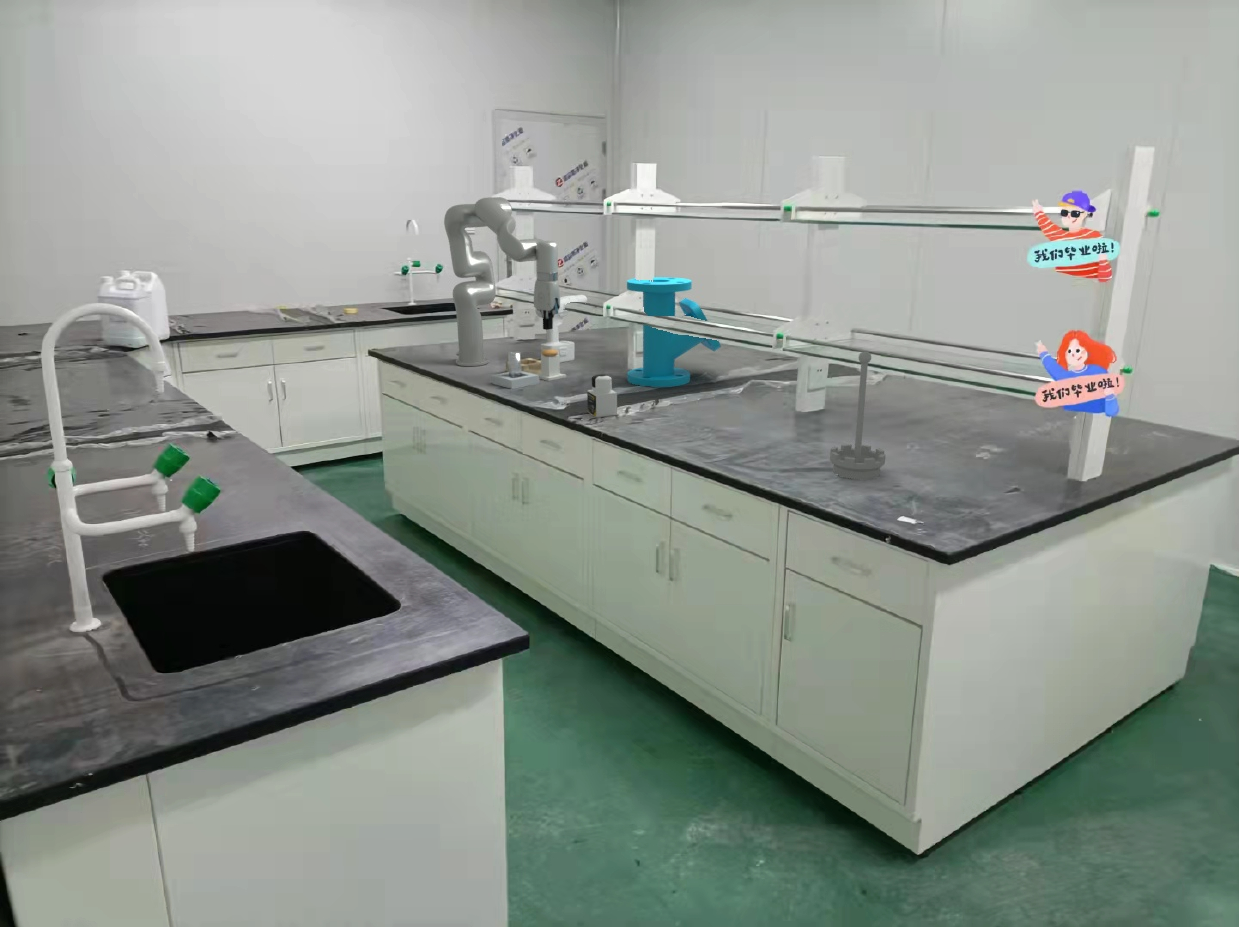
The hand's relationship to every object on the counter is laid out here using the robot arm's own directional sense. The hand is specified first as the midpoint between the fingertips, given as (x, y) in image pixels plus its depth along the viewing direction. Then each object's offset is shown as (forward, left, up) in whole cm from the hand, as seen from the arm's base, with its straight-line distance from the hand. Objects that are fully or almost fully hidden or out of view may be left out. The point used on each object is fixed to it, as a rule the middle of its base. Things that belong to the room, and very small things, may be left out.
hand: (547, 329), depth 320 cm
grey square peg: (0, -15, -18) cm, 23 cm away
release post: (+1, 0, -18) cm, 18 cm away
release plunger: (+1, 0, -16) cm, 16 cm away
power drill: (-21, +24, -18) cm, 37 cm away
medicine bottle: (+53, -21, -18) cm, 59 cm away
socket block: (0, -15, -18) cm, 23 cm away
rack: (-12, -1, -18) cm, 22 cm away
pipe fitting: (+34, +29, -18) cm, 48 cm away
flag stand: (+139, -14, -18) cm, 140 cm away
